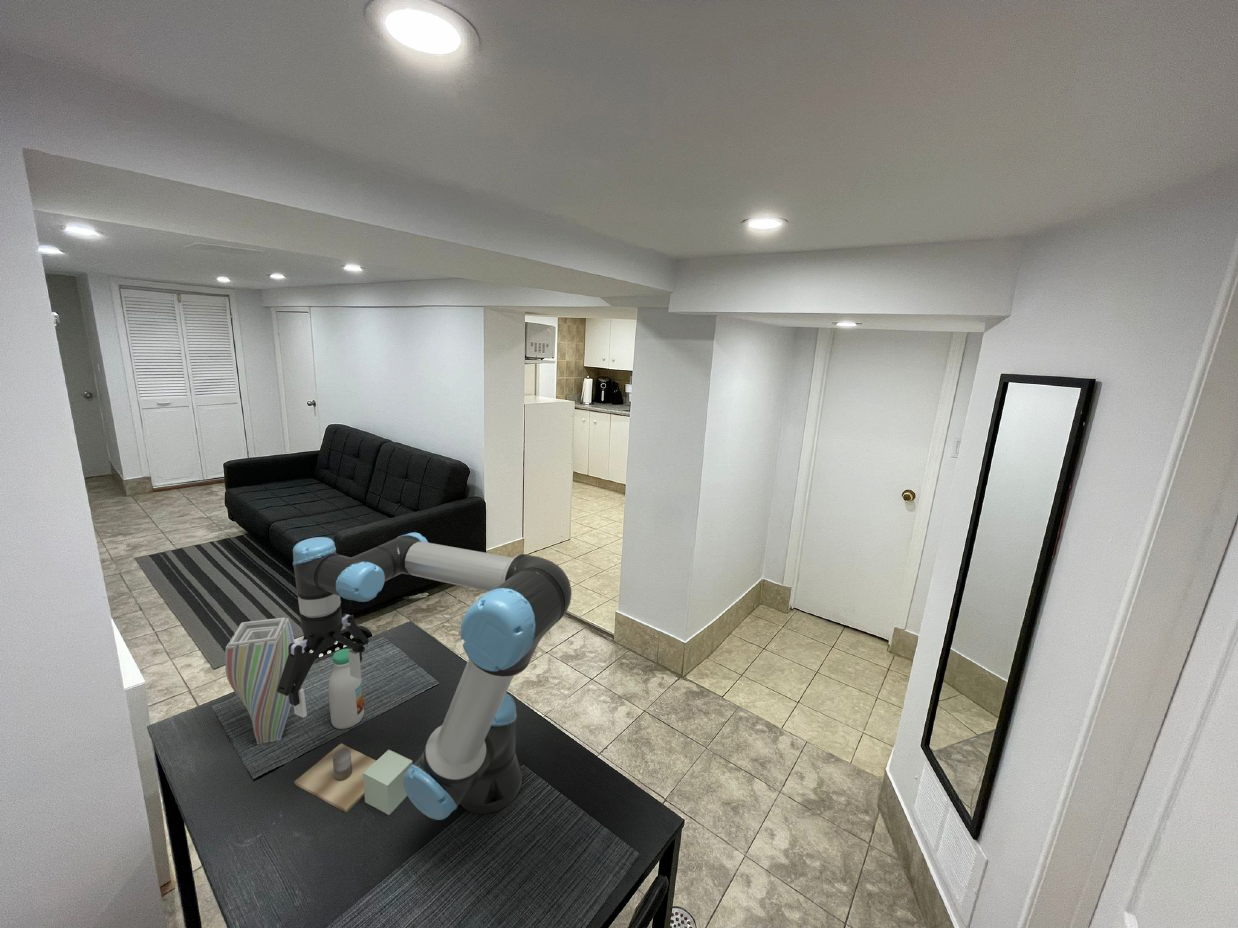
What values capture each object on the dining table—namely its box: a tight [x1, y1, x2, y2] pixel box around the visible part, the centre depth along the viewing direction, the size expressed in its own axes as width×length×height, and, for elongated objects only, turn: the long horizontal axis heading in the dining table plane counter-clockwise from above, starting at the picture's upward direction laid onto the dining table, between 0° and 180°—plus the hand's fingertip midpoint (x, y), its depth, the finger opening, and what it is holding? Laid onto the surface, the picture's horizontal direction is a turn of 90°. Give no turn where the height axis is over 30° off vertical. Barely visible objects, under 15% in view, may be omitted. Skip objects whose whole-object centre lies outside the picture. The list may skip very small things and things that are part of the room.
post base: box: [293, 743, 377, 814], centre depth 114 cm, size 16×12×6 cm
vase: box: [224, 617, 296, 745], centre depth 121 cm, size 14×14×30 cm
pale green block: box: [363, 749, 414, 816], centre depth 110 cm, size 7×7×8 cm
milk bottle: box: [327, 648, 365, 730], centre depth 129 cm, size 8×8×20 cm
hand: (329, 694), depth 111 cm, fingers open, 13 cm apart
